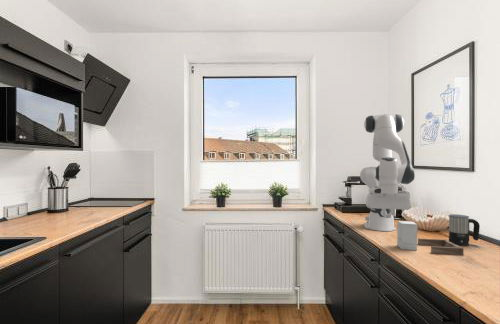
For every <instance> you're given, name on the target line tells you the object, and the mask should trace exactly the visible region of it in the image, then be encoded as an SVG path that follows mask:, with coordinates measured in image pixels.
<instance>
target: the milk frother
mask: <svg viewBox="0 0 500 324" xmlns="http://www.w3.org/2000/svg"><path fill="white" fill-rule="evenodd" d="M448 221H449V222H448V241H449V242H451V243H453V244H455V245H457V246H461V245H462V246H469V245H470V243H469V242H470V224H473V231H472V232H473V234H472V239H473V240H474V241H479V238H480V237H479V236H480V223H479V222H478V220H476V219H474V218H470V216H469V215H465V214H457V213H456V214H451V213H450V214H448Z"/></svg>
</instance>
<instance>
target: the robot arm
mask: <svg viewBox="0 0 500 324" xmlns="http://www.w3.org/2000/svg"><path fill="white" fill-rule="evenodd" d="M404 126H405V120H404V116H403V115H401V114H377V115H368V116H366V117H365V120H364V122H363V127H364V129H365V131H366V132H367V133H373V138H372V139H373V141H372V157H373V159H374V160H376V161H378V162H379V164H378V165H377V166H368V167H364V168H362V170H361V171H360V173H359V178H360V180H361V182H362V183H364V184H365V185H366V186H367V188H368V194H367V196H366V199H365V200H366V201H365V202H366V203H365V206H366V207H367V209H370V212H369V214H368V215H367V216H365V218H364V219H365V221H366V222H363V226H364V229H365V230H366V229H367V230H372V231H379V232H391V231H392V232H393V231H396V230H397V228H396V226H395V224H394V223H395V222H394V219H395V218H394V215H393V213H394V212H395V211H394V210H407V211H408V210H410V208H411V201H410V198H411V193H410V192H409V191H407V190H400V189H399V185H401V184H402V185H409V184H411V183H413V181H414V180H415V177H416V176H415V175H416V174H415V170H414V167H413V165H412V162H411V159H410V155H409V152H408V150H407V149H408V148H407V146H406V144H405V143H406V142H405V141H404V140H403V139H401V138H400V137H399V136H398V133H400V132H401V131H402V130H403V128H404ZM393 152H394V153H397V155H398V156H399V160H400V164H398V159H397V158H395V157H393Z"/></svg>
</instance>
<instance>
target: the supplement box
mask: <svg viewBox="0 0 500 324" xmlns="http://www.w3.org/2000/svg"><path fill="white" fill-rule="evenodd" d="M396 237H397V240H396V241H397V242H396V246H397V247H398V248H399V249H400V250H408V251H418V250H417V249H418V224H417V223H415V222H414V221H406V220H404V221H403V220H399V221H398V220H397V236H396Z"/></svg>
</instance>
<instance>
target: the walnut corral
mask: <svg viewBox="0 0 500 324" xmlns="http://www.w3.org/2000/svg"><path fill="white" fill-rule="evenodd" d="M417 246H428V247H429V246H430V253H431V254H433V255H436V254H437V255H456V256H457V255H458V256H463V255H464V254H465V251H464V247H461V245H455V244H453V243H451V242H449V240H448V239H440V238H439V239H438V238H435V239H434V238H418V237H417Z"/></svg>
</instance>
